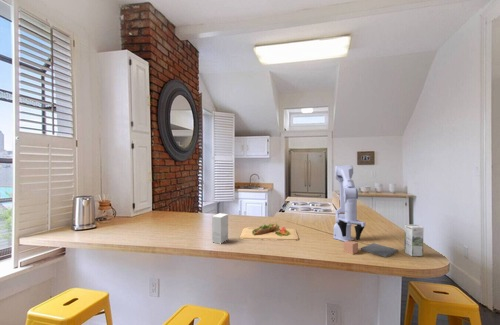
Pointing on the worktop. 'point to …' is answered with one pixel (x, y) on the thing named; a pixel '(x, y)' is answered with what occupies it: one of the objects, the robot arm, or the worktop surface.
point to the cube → (350, 247)
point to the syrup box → (414, 240)
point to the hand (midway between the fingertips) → (350, 237)
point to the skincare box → (219, 228)
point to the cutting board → (269, 233)
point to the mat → (379, 250)
